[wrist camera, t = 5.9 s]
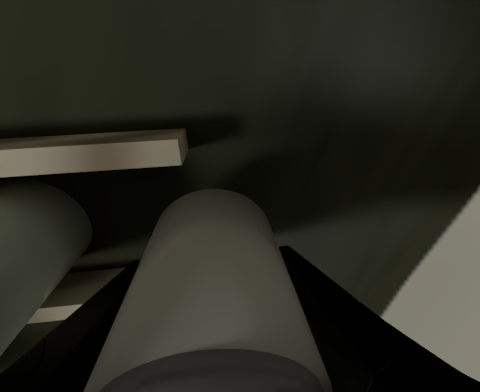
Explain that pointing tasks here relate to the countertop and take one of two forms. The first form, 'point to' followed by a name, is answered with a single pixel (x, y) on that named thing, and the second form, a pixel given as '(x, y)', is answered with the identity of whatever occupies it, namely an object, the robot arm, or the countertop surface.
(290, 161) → the countertop surface
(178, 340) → the jar
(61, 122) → the countertop surface
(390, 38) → the countertop surface
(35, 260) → the jar in lane
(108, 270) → the lane
